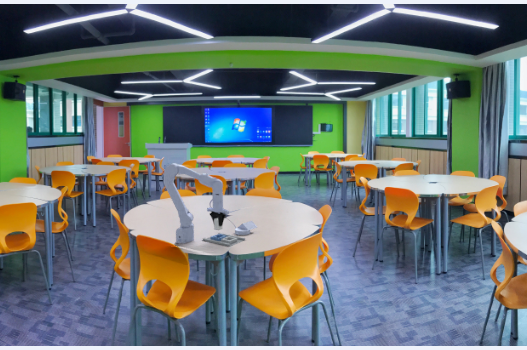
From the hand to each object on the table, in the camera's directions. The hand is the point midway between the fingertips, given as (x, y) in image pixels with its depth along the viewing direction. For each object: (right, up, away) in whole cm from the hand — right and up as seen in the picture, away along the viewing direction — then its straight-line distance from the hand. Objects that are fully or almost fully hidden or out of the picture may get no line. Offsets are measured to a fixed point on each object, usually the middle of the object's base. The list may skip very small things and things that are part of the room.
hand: (218, 225), depth 191 cm
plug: (0, -2, 0) cm, 2 cm away
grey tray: (+3, -9, -1) cm, 9 cm away
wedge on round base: (+14, -7, +14) cm, 21 cm away
